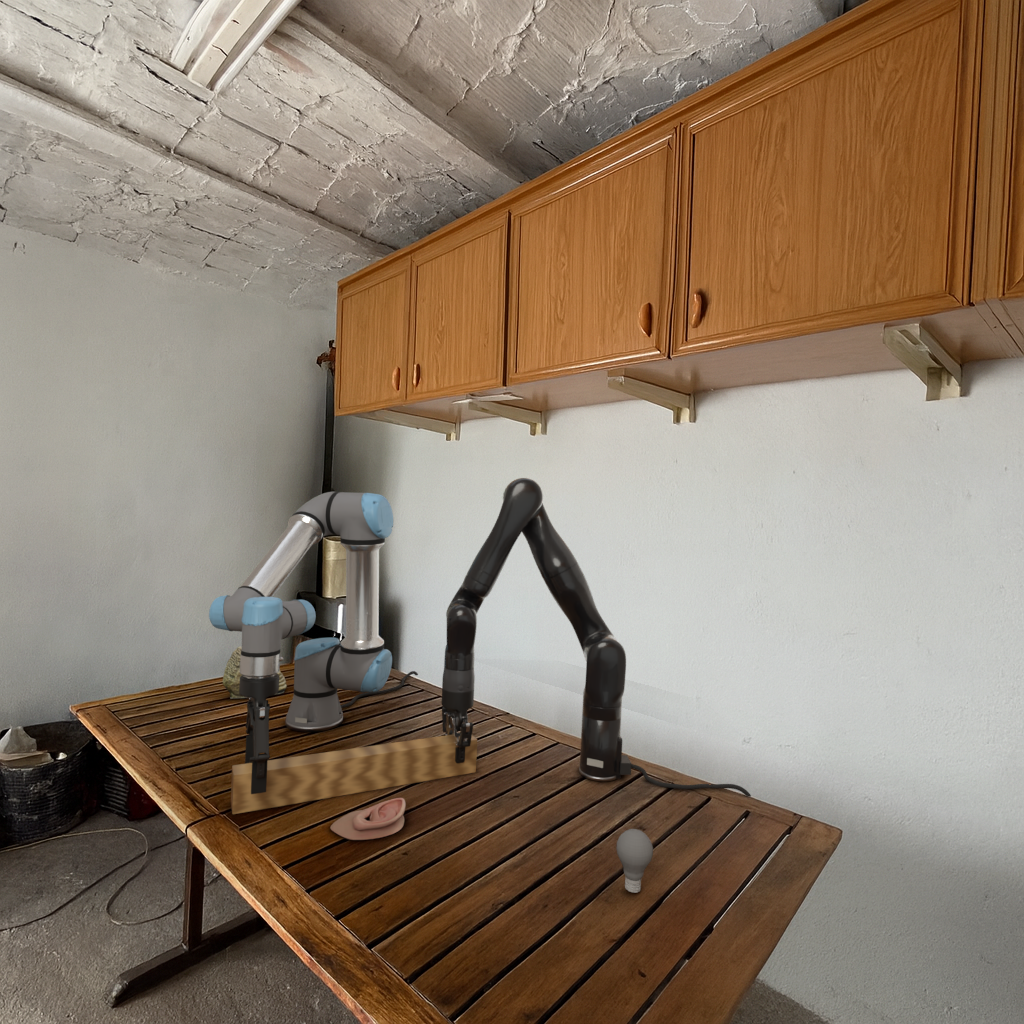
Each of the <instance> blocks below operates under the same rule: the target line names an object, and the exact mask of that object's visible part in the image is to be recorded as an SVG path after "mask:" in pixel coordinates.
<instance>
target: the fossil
mask: <svg viewBox="0 0 1024 1024" xmlns="http://www.w3.org/2000/svg"><path fill="white" fill-rule="evenodd" d="M241 649H242V646H238V647H237V648H236V649H235V650H233V651H232V653H231V656H230V657H229V659H228V660H227V663H226V666H225V668H224V671H223V675H222V676H223V677H222V685H223V687H224V688H225V690H226V691H228V693H229V698H230V699H248V698H247V697H243V696H241V695H240V694H239V683H240V677H241V676H242V674H240V655H241ZM277 674H278V675H279V691H278V692H277V693H276V694H275V695H281V694H284V693H285V691H286V689H287V687H288V686H287V680H286V678H285V676H284V674H283V673H282V672H281V669H279V672H278V673H277ZM275 695H274V696H275Z"/></svg>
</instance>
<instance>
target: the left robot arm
mask: <svg viewBox="0 0 1024 1024" xmlns="http://www.w3.org/2000/svg"><path fill="white" fill-rule="evenodd" d="M393 528H394V513H393V509H392V505H391V503H390V502H389V500H388V498H386V497H385V496H384V495H382V494H379V493H373V492H352V491H351V492H346V491H345V492H343V491H327V492H324V493H321V494H319V495H316V496H314V497H313V498H311V499H309V500H308V501H307V502H305V503H303V504H302V505H301V506H299V508H298V509H297V510H296V511H295V512H294V513H293V514H292V515H291V517H289V519H288V522H287V527H286V529H285V530H284V531H283V532H282V533H281V535H280V536H279V537H278V539H277V540H276V541H275V543H273V545H272V546H271V547H270V548H269V549H268V551H267V552H266V553H265V554H264V555H263V557H262V558H261V559H260V560H259V562H258V563H257V564H256V565H255V567H254V568H253V569H252V570H251V572H250V573H249V574H248V576H247V577H246V578H245V579H244V580H243V582H242V583H241V584H240V585H239V586H238V588H237V589H236V590H235V591H234V592H233V594H232V595H228V594H226V595H220V596H218V597H215V599H214V600H213V601H212V602H211V605H210V607H209V611H208V618H209V621H210V623H211V625H212V626H213V627H214V628H215V629H219V630H223V631H229V632H240V633H241V647H242V649H241V655H240V674H242V676H241V677H240V683H239V694H240V695H241V696H243V697H247V698H246V699H248V701H247V703H246V709H247V710H246V721H245V728H246V730H245V733H246V735H245V757H244V764H247V763H252V778H251V794H257V793H264V792H266V784H267V762H268V760H270V757H271V756H270V725H269V724H270V711H271V705H270V703H269V700H268V699H267V698H269V697H272V696H275V694H276V693H277V692H278V691H279V675H278V674H277V673H278V672H279V670H280V668H281V667H280V665H281V663H280V662H282V661H284V657H283V656H281V646H282V640H285V639H288V638H291V637H294V636H299V635H302V634H303V633H306V632H308V631H310V630H311V628H313V627H314V624H315V623H316V618H317V616H316V615H317V614H316V611H315V608H314V606H313V605H312V603H311V602H309V601H308V600H305V599H291V600H282V598H279V597H275V595H276V594H277V593H278V591H279V590H280V588H281V587H282V586H283V584H284V583H285V582H286V580H287V579H288V578H289V576H290V575H291V574H292V573H293V571H294V570H295V569H296V567H297V566H298V564H299V563H300V562H301V561H302V559H303V557H305V555H306V554H307V552H308V551H309V550H310V548H311V547H312V546H313V545H315V544H318V543H319V542H320V541H321V540H322V539H323V538H324V537H326V536H330V535H334V536H339V537H340V538H339V541H340V545H341V546H342V547H343V548H344V549H345V557H346V558H345V568H346V570H345V596H346V597H345V636H344V638H343V639H342V640H341V641H340V639H339V638H338V637H318V638H313V639H307V640H304V641H302V642H299V643H298V644H297V645H296V647H295V652H294V659H293V661H294V672H293V695H292V696H293V697H292V699H291V702H290V704H289V708H288V711H287V713H286V715H285V726H286V728H287V729H289V730H291V731H294V732H295V731H296V732H301V733H316V732H325V731H329V730H332V729H335V728H337V727H339V726H340V725H342V723H343V722H344V714H343V709H345V708H347V707H348V708H349V707H350V706H352V705H353V704H354V703H355V702H356V701H357V700H358V699H360V698H363V697H368V696H375V695H382V694H386V693H390V692H394V691H397V690H399V689H401V688H402V687H403V686H405V681H406V680H407V679H408V678H409V677H410V676H411V675H415V676H418V675H419V673H418V672H417V671H415V670H412V671H409V672H408V673H407V674H406V675H404V676H403V677H402V678H401V681H400V682H401V683H400V684H398V685H396V686H394V687H390V688H386V689H383V688H384V686H385V685H386V683H387V682H388V679H389V677H390V674H391V670H392V665H393V655H392V652H391V651H390V650H389V649H387V648H385V640H384V638H382V637H381V636H380V635H379V617H380V616H379V612H380V611H379V610H380V608H379V607H380V606H379V603H380V602H379V601H380V600H379V599H380V596H379V595H380V549H381V548H382V547H383V546H384V545H385V543H386V538H389V537H390V536H391V534H392V532H393ZM382 689H383V690H382ZM338 690H344V691H345V690H346V691H353V692H359V694H357V695H355V696H353V698H351V701H349V702H347V703H344V704H343V703H342V704H341V702H340V699H339V695H338ZM276 695H277V694H276Z"/></svg>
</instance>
